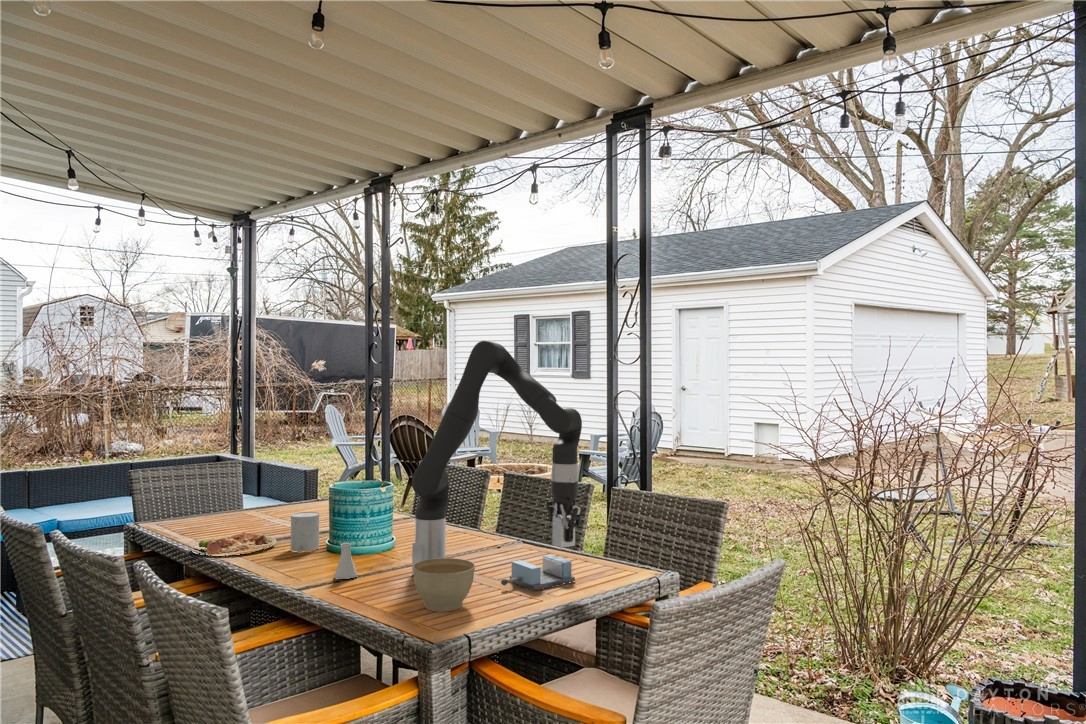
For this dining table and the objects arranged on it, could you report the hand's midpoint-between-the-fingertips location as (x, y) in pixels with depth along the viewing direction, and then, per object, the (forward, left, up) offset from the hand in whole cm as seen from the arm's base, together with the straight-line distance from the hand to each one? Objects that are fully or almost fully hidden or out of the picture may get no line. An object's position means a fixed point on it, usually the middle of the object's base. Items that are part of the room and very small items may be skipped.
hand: (563, 539), depth 203 cm
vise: (+1, +11, -14) cm, 18 cm away
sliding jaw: (-8, +11, -13) cm, 19 cm away
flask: (-44, +50, -15) cm, 68 cm away
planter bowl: (-34, +8, -15) cm, 38 cm away
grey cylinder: (-42, +92, -15) cm, 102 cm away
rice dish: (-61, +109, -15) cm, 126 cm away
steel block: (0, 0, -2) cm, 2 cm away
